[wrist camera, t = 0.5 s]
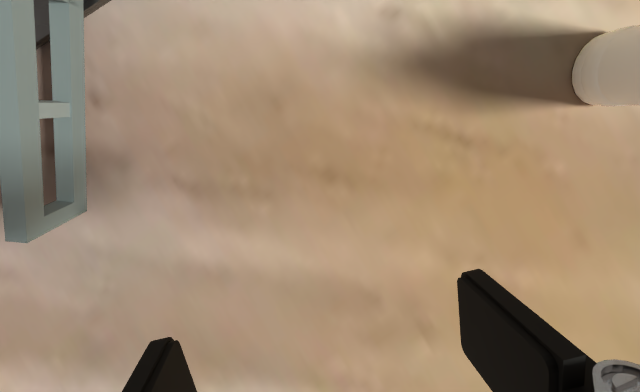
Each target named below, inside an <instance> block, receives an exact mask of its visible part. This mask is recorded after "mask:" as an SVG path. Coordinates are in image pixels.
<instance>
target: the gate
mask: <svg viewBox="0 0 640 392" xmlns="http://www.w3.org/2000/svg"><path fill="white" fill-rule="evenodd" d="M49 23H50V48H51V73H52V98H53V101H50V100H38V80H37V60H36V40H35V21H34V1H33V0H0V182H1V194H2V206H3V218H4V230H5V241H10V242H21V243H28V242H30V241H32V240H34V239H36V238H38V237H39V236H41V235H43V234H45V233H47V232H49V231H51V230H52V229H54V228H56V227H58V226H60V225H62V224H63V223H65V222H67V221H69V220H71V219H73V218H74V217H76V216H78V215H80V214H82V213H84V212H86V211H87V198H86V136H85V74H84V11H83V0H49ZM43 118H53V123H54V147H55V172H56V197H57V201H54V202H52V203H49V204H47V205H45V206H44V198H43V178H42V159H41V139H40V119H43Z"/></svg>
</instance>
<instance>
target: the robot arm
mask: <svg viewBox="0 0 640 392" xmlns="http://www.w3.org/2000/svg"><path fill="white" fill-rule="evenodd" d="M457 286H458V302H459V317H460V333H461V345H462V348H463V351H464V353H465V355H466V356H467V358H468V359H469V360H470V362H471V363H472V364H473V366H474V367H475V368H476V370H477V371H478V372H479V374H480V375H481V377H482V378H483V379H484V381H485V382H486V383H487V385H488V386H489V387H490V389H491V390H492V391H493V392H640V365H638V364H635V363H632V362H628V361H622V360H604V361H601V362H598V363H596V362H595V361H593V360H592V359H591V358H590V357H588V356H587V355H586V354H585V353H583V352H582V351H581V350H580V349H579V348H577V347H576V346H575V345H574V344H572V343H571V342H570V341H569V340H567V339H566V338H565V337H564V336H563V335H561V334H560V333H559V332H558V331H556V330H555V329H554V328H553V327H552V326H550V325H549V324H548V323H547V322H545V321H544V320H543V319H542V318H540V317H539V316H538V315H537V314H536V313H534V312H533V311H532V310H531V309H529V308H528V307H527V306H525V305H524V304H523V303H522V302H521V301H519V300H518V299H517V298H516V297H514V296H513V295H512V294H511V293H510V292H508V291H507V290H506V289H505V288H503V287H502V286H501V285H500V284H498V283H497V282H496V281H495V280H494V279H492V278H491V277H490V276H489V275H487V274H486V273H485V272H484V271H483V270H481V269H476V270H472V271H467V272H463V273H462V275H461V278H458V280H457ZM122 392H197V390H196V388H195V385H194V382H193V379H192V376H191V374H190V371H189V368H188V365H187V362H186V360H185V357H184V354H183V351H182V348H181V346H180V343H179V341H177V340H176V341H174V340H173V339H172V338H171V337H168V338H163V339H159V340H154V341H151V342H150V343H149V345H148V347H147V348H146V350H145V352H144V354H143V355H142V357H141V359H140V361H139V362H138V364H137V366H136V368H135V369H134V371H133V373H132V375H131V377H130V378H129V380H128V382H127V384H126V385H125V387H124V389H123V391H122Z"/></svg>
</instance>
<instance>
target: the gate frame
mask: <svg viewBox="0 0 640 392" xmlns="http://www.w3.org/2000/svg"><path fill="white" fill-rule="evenodd" d="M33 1H34V21H35V40H36V49H37V48H39V47H40V46H42V45H44V44H45V43H47V42H48V41H50V23H49V0H33ZM109 1H111V0H83V11H84V18H85V17H86V16H88V15H89V14H91V13H92V12H94V11H96V10H97V9H99V8H100V7H102V6H103V5H105V4H106V3H108V2H109Z"/></svg>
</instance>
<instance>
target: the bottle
mask: <svg viewBox="0 0 640 392" xmlns="http://www.w3.org/2000/svg"><path fill="white" fill-rule="evenodd" d="M572 84H573V87H574V90H575V93H576V95H577V96H578V97H579V98H580V99H581V100H582V101H583V102H585V103H588V104H590V105H601V106H627V105H640V25H639V26H630V27H625V28H621V29H617V30H615V31H612V32H607V33H604V34H602V35H599V36H597V37H594V38H593V39H592V40H591V41H590V42H588V43H587V44H586V45H585V46H584V47H583V49H582V50H581V52H580V53H579V55H578V56H577V58H576V61H575V64H574V67H573V70H572Z"/></svg>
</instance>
